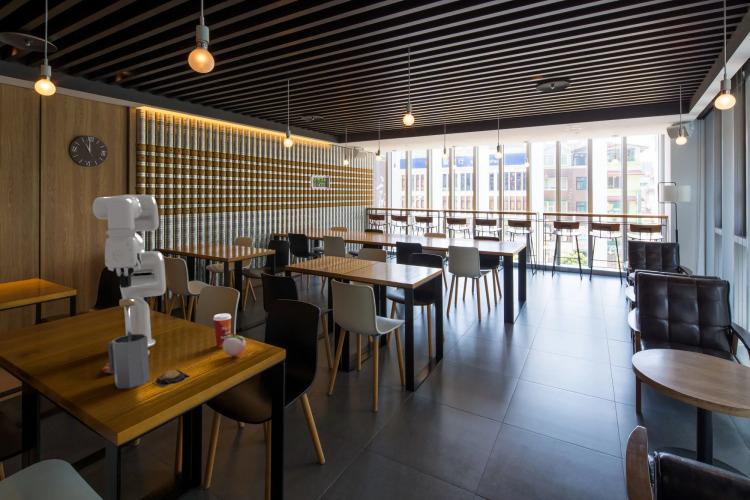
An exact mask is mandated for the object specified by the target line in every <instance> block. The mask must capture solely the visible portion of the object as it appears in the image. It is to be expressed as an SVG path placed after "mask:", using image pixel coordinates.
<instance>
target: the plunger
mask: <svg viewBox="0 0 750 500" xmlns="http://www.w3.org/2000/svg"><path fill="white" fill-rule="evenodd" d="M118 302H119V307H121V308H124V307H125V309H126V323H127V336H128V342H132V335H131V321H130V307H129V306H132V305H135V301H134V298H125V299H123V298H121V299H119V301H118Z"/></svg>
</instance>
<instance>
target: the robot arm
mask: <svg viewBox="0 0 750 500" xmlns="http://www.w3.org/2000/svg"><path fill="white" fill-rule="evenodd" d="M92 212H93V214H94V216H95V217H96V218H97V219H99V220H107V226H108V227H107V228H108V230H106V231H105V234H106V235H107V236H108V238H106V239H105V244H104V245H105V246H104V264H105V267H107V270H109V271H111V272H114V273H116V276H118V277H119V288H120V293H121V297H122V299H125V298H134V301H135V305H132V306H129V307H130V321H131V334H144V335H146V336H147V345H148V348H150V347H152V346H154V345H155V344H156V339H154V338H152V330H151V313H150V312H151V311H150V306H149V304H148V302H146V300H144V299H143V298H147V297H157V296H163V295H164V294H165V293H166V290H167V282H166V266H165V258H164V255H163V254H162V252H160V251H157V250H152V251H151V250H150V251H146V250H145V241H144V239H143V238H142V236H141V235H140V234H138V233H137V232H153V231H156V230H157V229H158V228H159V225H160V220H159V219H160V218H159V209H158V204H157V200H156V199H155V197H154V196H153V195H151V194H122V195H113V196H100V197H96V198H95V199H94V201H93V204H92ZM143 273H146V274H147V273H153V274H149V275H137V276H136V275H134V276H133V274H143ZM123 309H124V310H123V311H124V325H125V335H127V323H126V309H125V307H123Z"/></svg>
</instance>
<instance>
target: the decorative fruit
mask: <svg viewBox="0 0 750 500" xmlns="http://www.w3.org/2000/svg"><path fill="white" fill-rule="evenodd" d="M226 337H227V338H226ZM224 338H226V339H225V340H224V342H223V348H222V350H223V351H224V353H225V354H226V355H227V356H229V357H234V358H235V357H238V356H239V355H241V354H242V353H243V352H244V351H245V350H246V348H247V341H246V338H245V337H243V336H242V335H235V333H233V334H232V335H231V334H230V335H229V336H225V337H224ZM224 338H223V339H224Z"/></svg>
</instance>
